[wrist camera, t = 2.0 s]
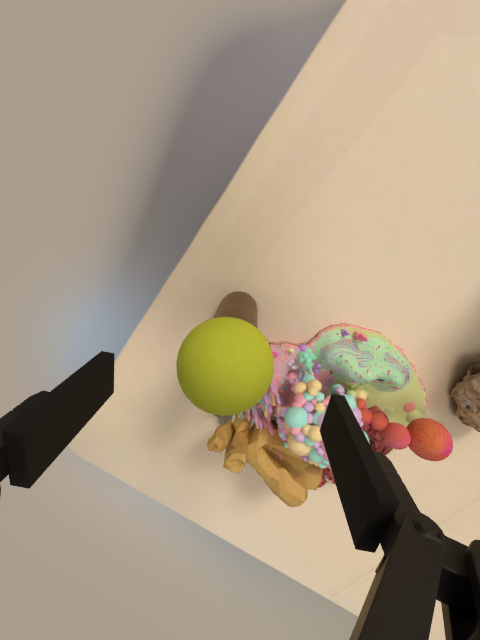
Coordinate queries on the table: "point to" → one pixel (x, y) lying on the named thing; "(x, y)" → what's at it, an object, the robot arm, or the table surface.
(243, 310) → the post
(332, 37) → the table surface
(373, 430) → the candy landscape model
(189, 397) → the ball
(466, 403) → the rock
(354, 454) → the robot arm
